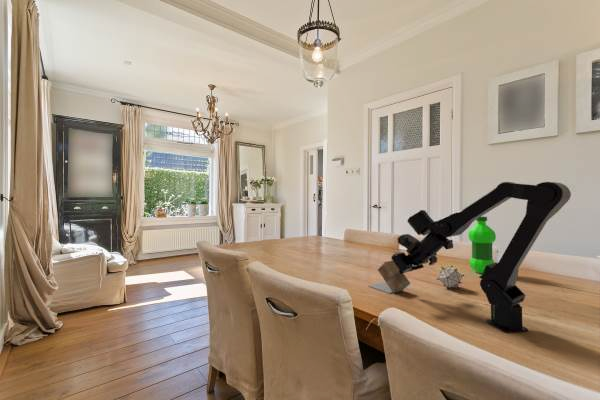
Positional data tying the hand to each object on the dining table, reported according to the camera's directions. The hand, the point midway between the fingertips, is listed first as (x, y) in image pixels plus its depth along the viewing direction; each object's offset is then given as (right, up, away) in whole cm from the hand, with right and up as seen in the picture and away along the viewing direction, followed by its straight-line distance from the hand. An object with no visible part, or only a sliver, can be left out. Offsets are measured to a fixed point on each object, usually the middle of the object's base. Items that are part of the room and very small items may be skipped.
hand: (400, 272), depth 99 cm
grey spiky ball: (+20, -7, +5) cm, 22 cm away
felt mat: (-4, -7, +6) cm, 10 cm away
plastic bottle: (+46, -7, +25) cm, 53 cm away
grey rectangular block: (0, -5, 0) cm, 6 cm away
